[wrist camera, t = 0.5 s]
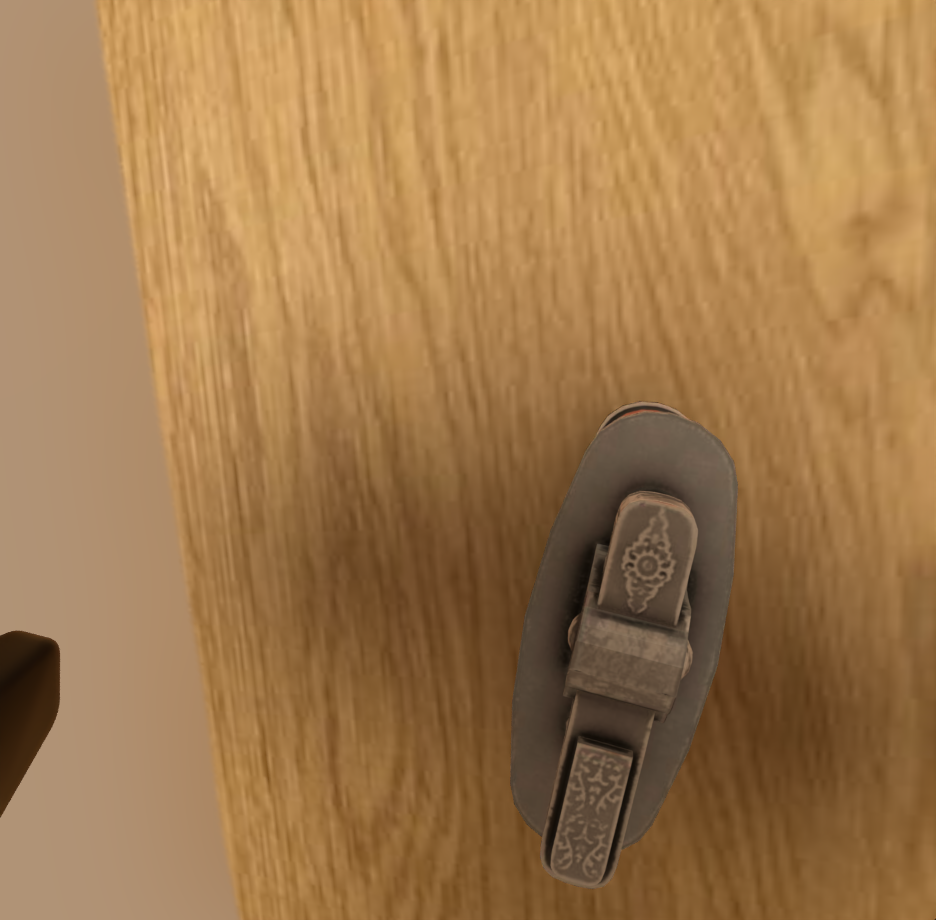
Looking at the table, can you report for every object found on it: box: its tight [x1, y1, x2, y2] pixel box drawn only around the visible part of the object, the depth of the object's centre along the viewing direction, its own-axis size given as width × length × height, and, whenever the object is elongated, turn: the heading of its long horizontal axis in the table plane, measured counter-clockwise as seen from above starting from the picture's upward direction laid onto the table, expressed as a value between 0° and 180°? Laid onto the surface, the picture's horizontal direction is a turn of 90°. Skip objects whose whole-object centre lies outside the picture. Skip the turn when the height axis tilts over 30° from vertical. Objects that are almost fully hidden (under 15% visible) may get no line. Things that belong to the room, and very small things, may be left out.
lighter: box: [510, 401, 738, 889], centre depth 17 cm, size 8×3×10 cm, turn 168°
